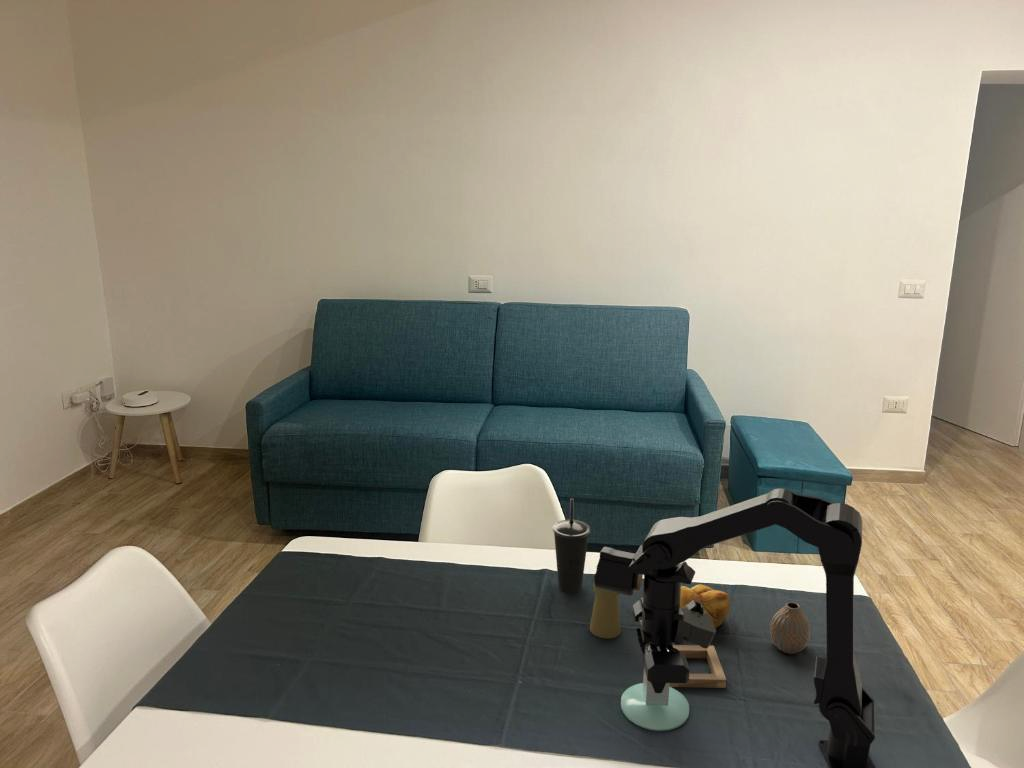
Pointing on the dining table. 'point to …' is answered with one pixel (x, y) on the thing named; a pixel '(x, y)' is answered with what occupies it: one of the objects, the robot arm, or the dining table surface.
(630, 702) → the teal coaster
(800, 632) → the vase
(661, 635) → the robot arm
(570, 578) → the drinking cup
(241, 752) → the dining table surface
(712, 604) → the bread roll
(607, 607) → the wooden pepper shaker
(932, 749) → the dining table surface
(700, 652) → the walnut collar
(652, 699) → the steel bar
